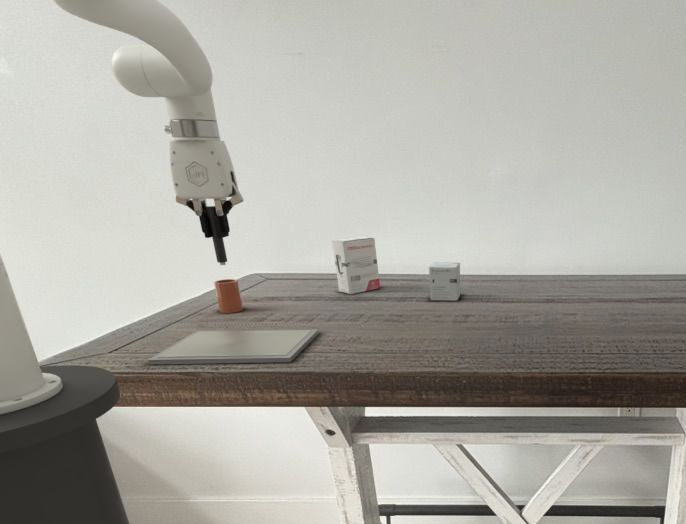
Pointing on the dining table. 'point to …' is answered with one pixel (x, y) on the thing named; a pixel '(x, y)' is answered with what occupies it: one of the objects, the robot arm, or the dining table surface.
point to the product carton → (444, 281)
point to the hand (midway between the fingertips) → (217, 236)
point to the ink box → (356, 264)
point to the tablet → (237, 347)
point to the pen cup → (228, 295)
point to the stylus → (216, 236)
